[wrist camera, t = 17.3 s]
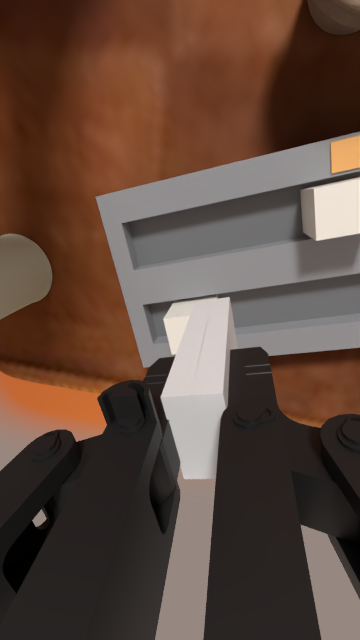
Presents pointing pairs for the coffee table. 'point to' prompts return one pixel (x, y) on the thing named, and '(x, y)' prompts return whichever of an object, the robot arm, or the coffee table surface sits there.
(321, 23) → the flower pot
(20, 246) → the can
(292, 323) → the switch bank
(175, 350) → the tab
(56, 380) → the coffee table surface
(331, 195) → the tab
